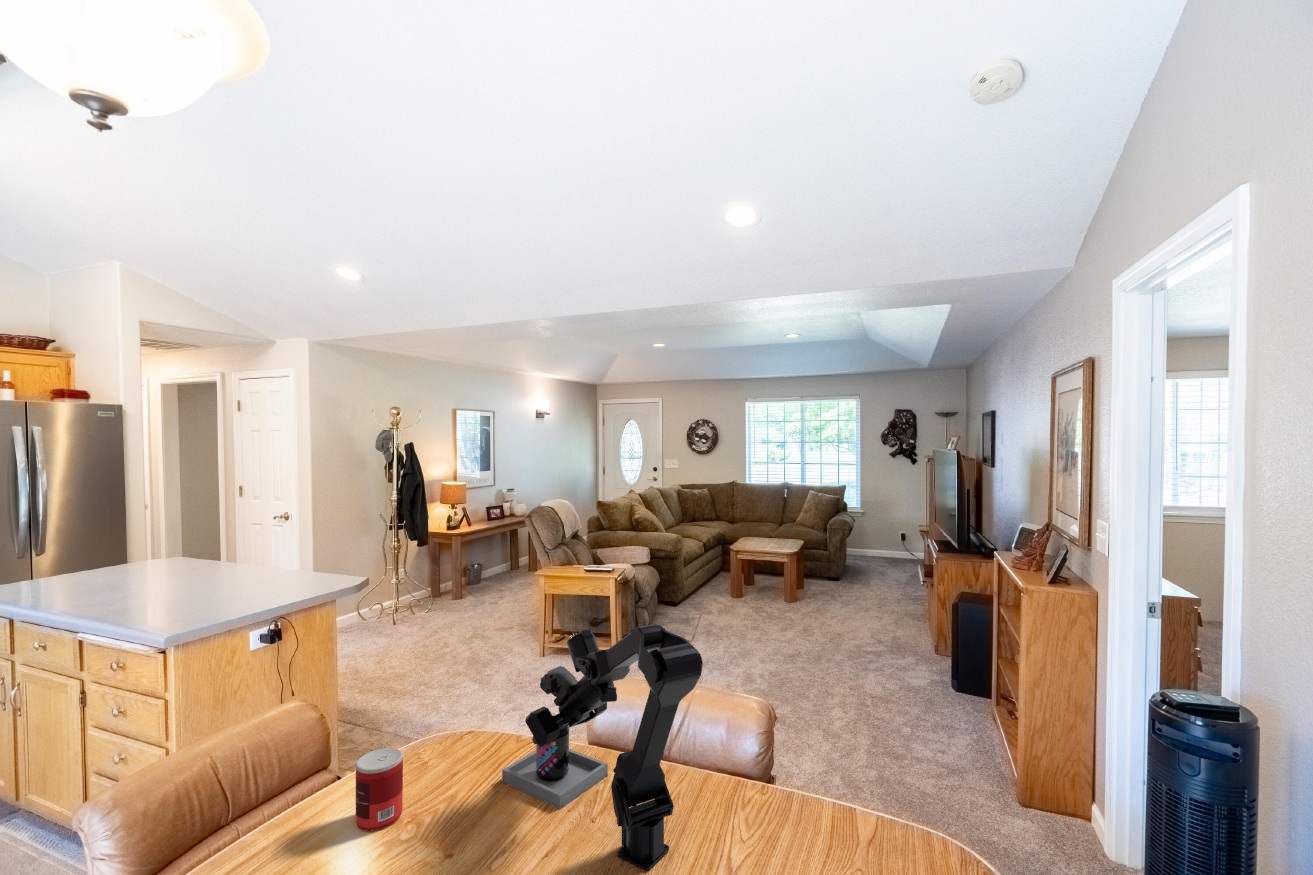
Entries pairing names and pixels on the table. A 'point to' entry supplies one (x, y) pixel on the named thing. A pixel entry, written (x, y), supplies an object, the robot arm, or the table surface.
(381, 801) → the canned food
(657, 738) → the robot arm
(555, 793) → the tray
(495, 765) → the table surface
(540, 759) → the supplement container
